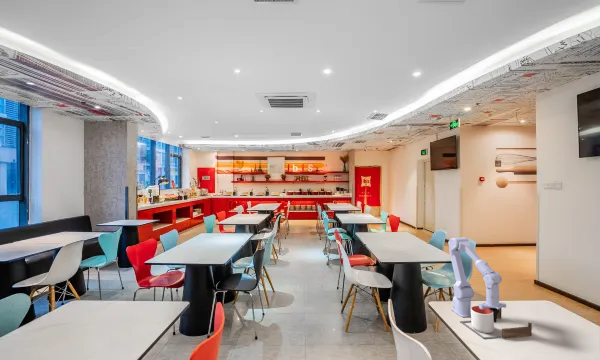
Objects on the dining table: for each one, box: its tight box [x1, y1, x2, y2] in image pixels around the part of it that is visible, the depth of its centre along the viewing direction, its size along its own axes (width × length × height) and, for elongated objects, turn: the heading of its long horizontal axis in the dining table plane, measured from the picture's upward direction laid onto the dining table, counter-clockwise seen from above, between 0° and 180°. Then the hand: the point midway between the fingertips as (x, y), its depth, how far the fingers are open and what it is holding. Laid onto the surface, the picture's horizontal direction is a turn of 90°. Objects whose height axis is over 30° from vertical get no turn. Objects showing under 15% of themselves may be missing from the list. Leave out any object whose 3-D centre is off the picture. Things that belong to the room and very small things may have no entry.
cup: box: [470, 305, 495, 334], centre depth 150 cm, size 10×10×10 cm
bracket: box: [459, 320, 502, 340], centre depth 150 cm, size 17×10×1 cm, turn 9°
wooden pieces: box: [497, 307, 533, 340], centre depth 152 cm, size 19×16×6 cm
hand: (492, 321), depth 151 cm, fingers closed, pressing on cup
